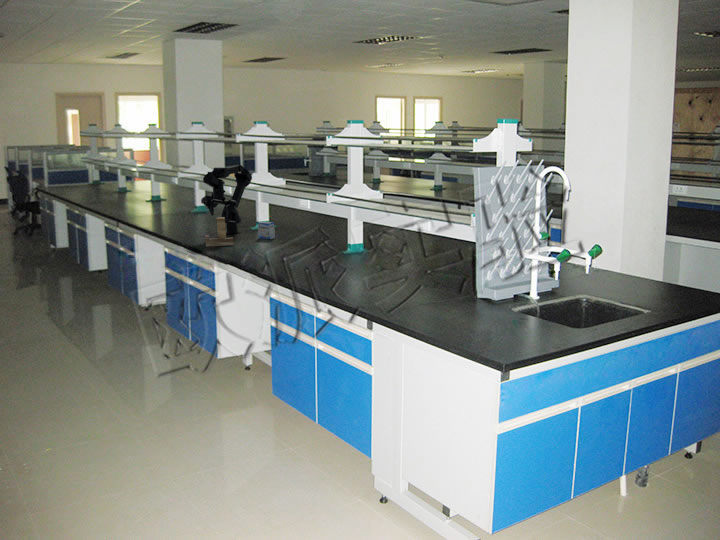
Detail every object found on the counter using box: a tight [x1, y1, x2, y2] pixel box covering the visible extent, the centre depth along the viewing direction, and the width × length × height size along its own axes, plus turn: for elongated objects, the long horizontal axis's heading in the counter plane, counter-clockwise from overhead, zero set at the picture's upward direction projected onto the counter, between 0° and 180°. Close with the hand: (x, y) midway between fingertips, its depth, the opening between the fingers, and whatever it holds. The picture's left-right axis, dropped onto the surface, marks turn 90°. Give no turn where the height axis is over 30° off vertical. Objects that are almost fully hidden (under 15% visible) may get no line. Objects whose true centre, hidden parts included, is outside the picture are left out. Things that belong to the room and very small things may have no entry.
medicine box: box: [257, 221, 276, 240], centre depth 372 cm, size 8×4×9 cm, turn 62°
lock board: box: [204, 234, 235, 248], centre depth 361 cm, size 14×14×4 cm
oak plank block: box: [216, 216, 227, 239], centre depth 359 cm, size 4×4×12 cm
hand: (220, 217), depth 368 cm, fingers open, 9 cm apart
